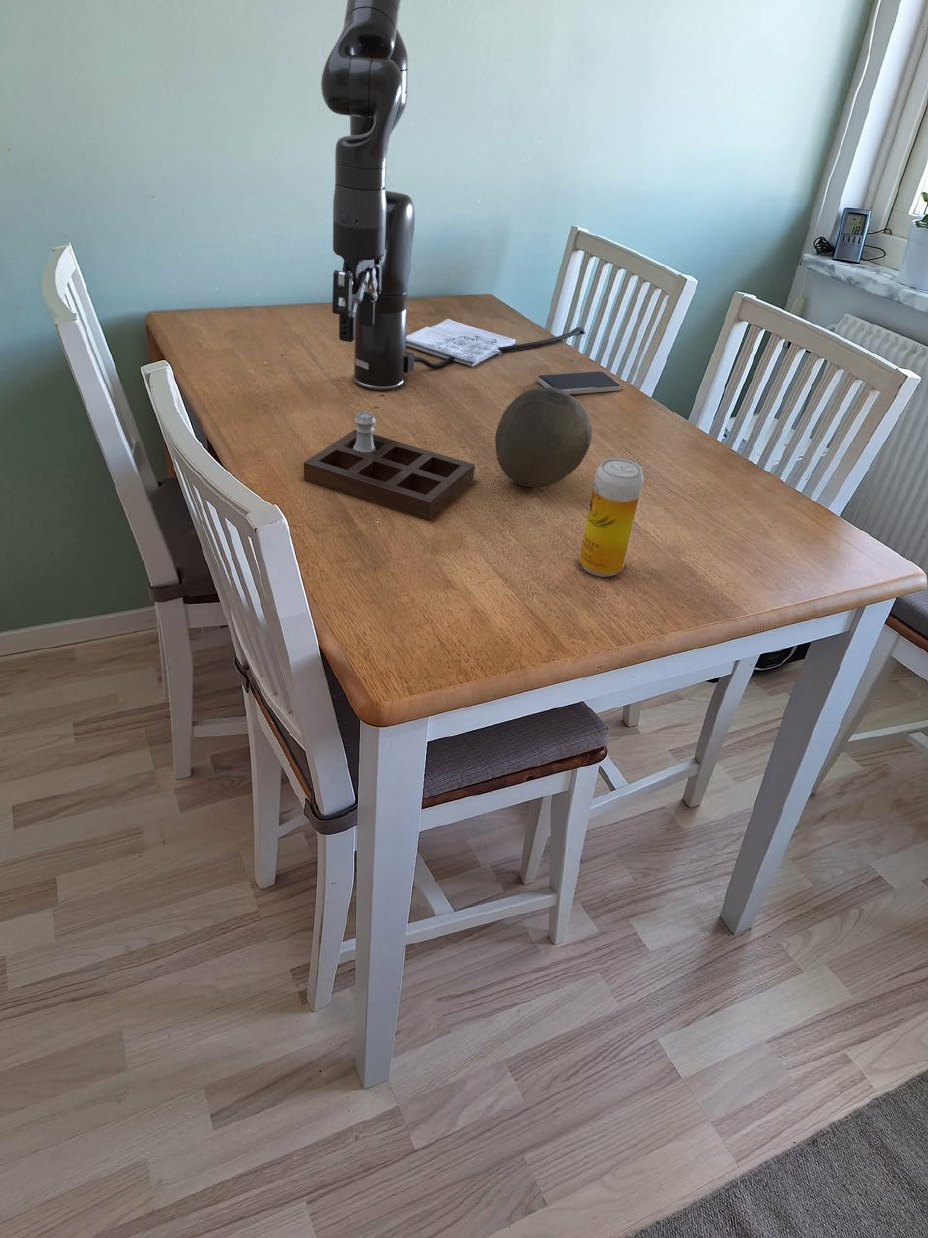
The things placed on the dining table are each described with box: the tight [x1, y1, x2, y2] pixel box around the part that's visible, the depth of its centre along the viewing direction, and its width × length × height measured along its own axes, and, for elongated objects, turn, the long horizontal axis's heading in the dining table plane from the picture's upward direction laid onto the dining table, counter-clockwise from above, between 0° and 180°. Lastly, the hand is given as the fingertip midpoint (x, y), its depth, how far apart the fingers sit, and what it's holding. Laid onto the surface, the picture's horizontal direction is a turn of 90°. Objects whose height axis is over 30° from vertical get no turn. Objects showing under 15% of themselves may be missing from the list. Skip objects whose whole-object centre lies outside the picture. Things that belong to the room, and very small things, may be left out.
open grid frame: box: [303, 428, 476, 521], centre depth 136 cm, size 15×21×3 cm
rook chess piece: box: [353, 410, 377, 454], centre depth 139 cm, size 4×4×8 cm
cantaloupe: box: [494, 386, 593, 488], centre depth 136 cm, size 14×14×15 cm
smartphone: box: [537, 371, 622, 395], centre depth 177 cm, size 8×1×15 cm
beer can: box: [579, 457, 644, 578], centre depth 118 cm, size 6×6×15 cm
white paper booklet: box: [406, 318, 516, 368], centre depth 189 cm, size 19×20×2 cm
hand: (357, 332), depth 137 cm, fingers open, 8 cm apart
